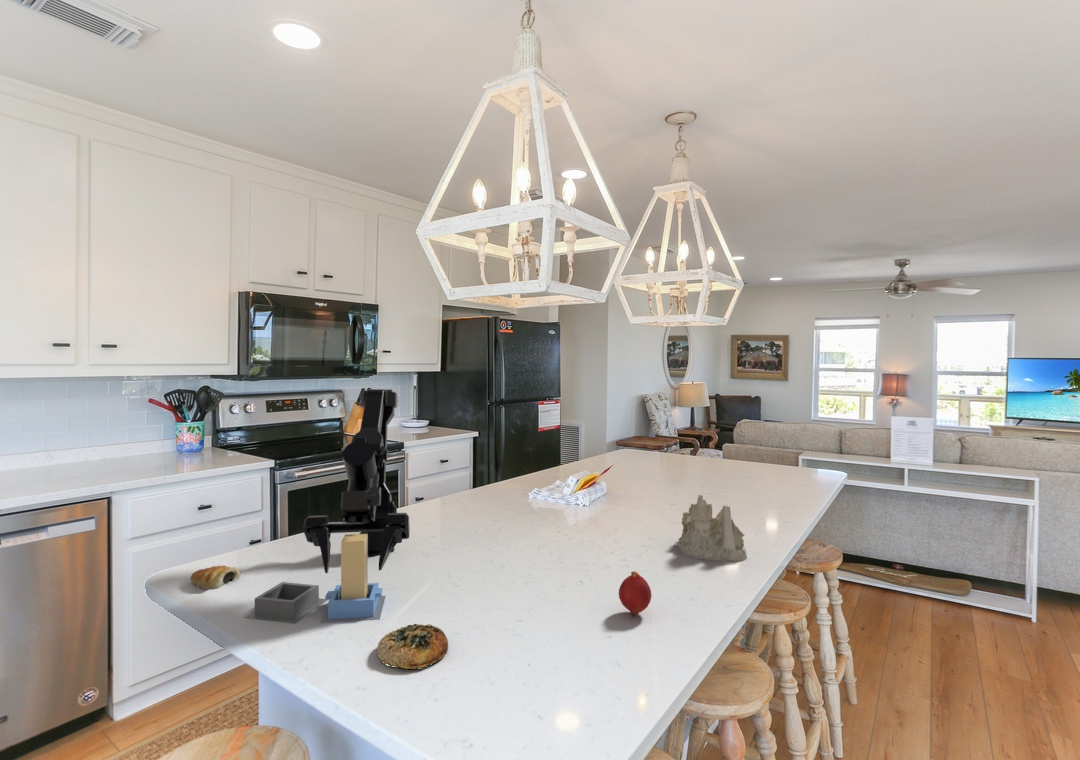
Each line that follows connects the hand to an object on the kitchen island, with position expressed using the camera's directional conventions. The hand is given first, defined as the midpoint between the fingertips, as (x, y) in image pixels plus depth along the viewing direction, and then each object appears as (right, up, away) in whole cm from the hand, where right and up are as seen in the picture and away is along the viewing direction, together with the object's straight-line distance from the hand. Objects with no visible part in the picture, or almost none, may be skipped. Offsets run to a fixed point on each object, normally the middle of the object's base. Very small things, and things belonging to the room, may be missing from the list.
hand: (353, 570), depth 100 cm
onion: (+51, -9, +2) cm, 52 cm away
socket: (-12, -8, +1) cm, 15 cm away
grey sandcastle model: (+76, -8, +38) cm, 85 cm away
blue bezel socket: (0, -8, +2) cm, 8 cm away
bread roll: (+13, -9, -12) cm, 20 cm away
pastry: (-33, -8, +14) cm, 36 cm away
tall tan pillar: (0, -7, +2) cm, 8 cm away
